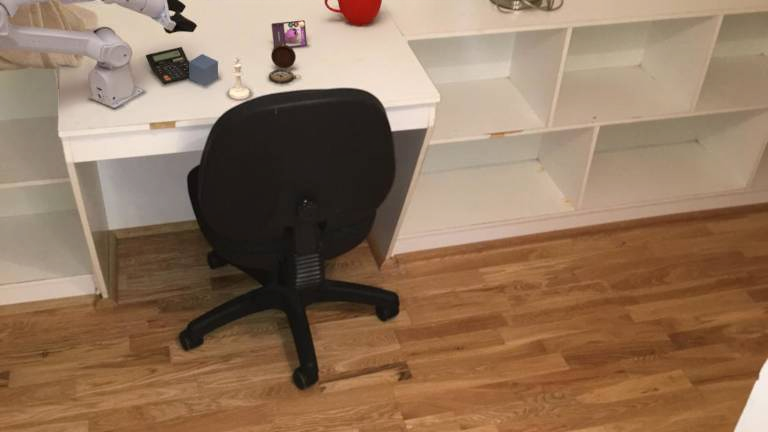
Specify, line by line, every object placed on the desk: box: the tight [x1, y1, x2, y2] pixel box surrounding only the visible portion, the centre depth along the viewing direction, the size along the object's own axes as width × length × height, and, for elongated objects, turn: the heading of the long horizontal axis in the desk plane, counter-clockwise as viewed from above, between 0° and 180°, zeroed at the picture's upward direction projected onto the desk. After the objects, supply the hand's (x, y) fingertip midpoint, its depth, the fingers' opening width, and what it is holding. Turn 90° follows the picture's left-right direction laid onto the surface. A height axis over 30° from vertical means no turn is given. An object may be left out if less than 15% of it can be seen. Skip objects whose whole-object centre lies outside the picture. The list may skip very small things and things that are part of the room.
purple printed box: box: [270, 19, 308, 49], centre depth 212 cm, size 7×5×9 cm
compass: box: [268, 44, 302, 85], centre depth 197 cm, size 8×8×7 cm
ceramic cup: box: [324, 0, 383, 27], centre depth 222 cm, size 13×17×10 cm
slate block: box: [188, 53, 219, 87], centre depth 194 cm, size 5×5×5 cm
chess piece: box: [228, 56, 250, 100], centre depth 188 cm, size 5×5×10 cm
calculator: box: [145, 46, 190, 86], centre depth 197 cm, size 9×12×3 cm
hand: (188, 18), depth 189 cm, fingers open, 7 cm apart
